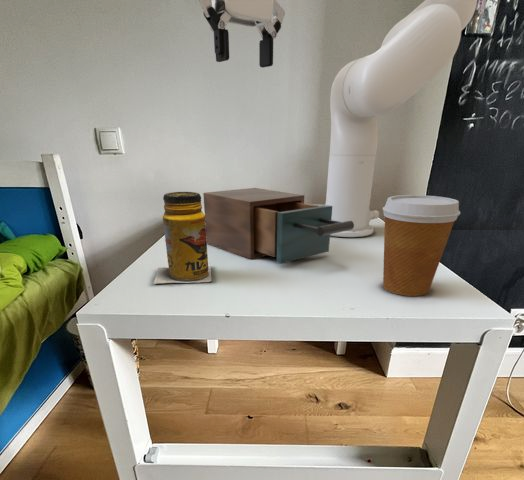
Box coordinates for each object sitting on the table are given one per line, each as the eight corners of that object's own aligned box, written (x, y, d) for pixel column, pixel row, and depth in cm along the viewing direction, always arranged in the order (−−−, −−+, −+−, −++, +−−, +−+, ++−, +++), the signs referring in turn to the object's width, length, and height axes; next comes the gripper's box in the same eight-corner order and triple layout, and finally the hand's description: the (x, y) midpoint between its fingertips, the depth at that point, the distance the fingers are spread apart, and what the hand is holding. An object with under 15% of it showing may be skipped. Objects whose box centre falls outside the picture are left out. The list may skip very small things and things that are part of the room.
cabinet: (301, 247, 75) (304, 195, 71) (250, 259, 68) (249, 201, 64) (255, 234, 85) (255, 187, 80) (206, 243, 78) (203, 192, 74)
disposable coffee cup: (358, 281, 58) (369, 196, 52) (411, 274, 61) (427, 193, 55) (398, 304, 50) (416, 207, 44) (456, 295, 53) (480, 203, 47)
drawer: (358, 259, 65) (364, 211, 61) (310, 273, 59) (313, 219, 55) (279, 238, 79) (280, 197, 75) (233, 246, 72) (231, 202, 69)
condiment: (211, 282, 58) (206, 196, 52) (153, 284, 57) (141, 197, 51) (210, 267, 64) (205, 189, 58) (158, 269, 63) (147, 190, 57)
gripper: (269, -49, 68) (268, 70, 76) (182, -79, 58) (192, 61, 67) (299, -64, 63) (295, 66, 71) (208, -99, 53) (215, 55, 62)
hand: (245, 63), depth 69 cm, fingers open, 9 cm apart
